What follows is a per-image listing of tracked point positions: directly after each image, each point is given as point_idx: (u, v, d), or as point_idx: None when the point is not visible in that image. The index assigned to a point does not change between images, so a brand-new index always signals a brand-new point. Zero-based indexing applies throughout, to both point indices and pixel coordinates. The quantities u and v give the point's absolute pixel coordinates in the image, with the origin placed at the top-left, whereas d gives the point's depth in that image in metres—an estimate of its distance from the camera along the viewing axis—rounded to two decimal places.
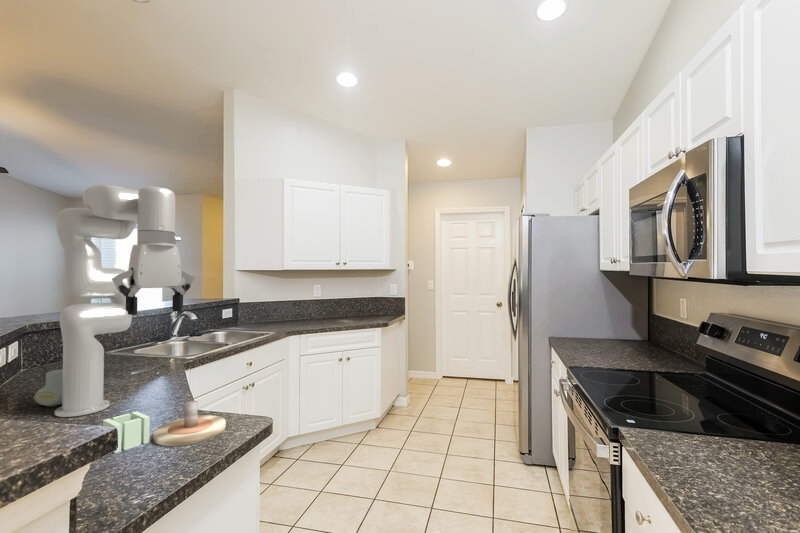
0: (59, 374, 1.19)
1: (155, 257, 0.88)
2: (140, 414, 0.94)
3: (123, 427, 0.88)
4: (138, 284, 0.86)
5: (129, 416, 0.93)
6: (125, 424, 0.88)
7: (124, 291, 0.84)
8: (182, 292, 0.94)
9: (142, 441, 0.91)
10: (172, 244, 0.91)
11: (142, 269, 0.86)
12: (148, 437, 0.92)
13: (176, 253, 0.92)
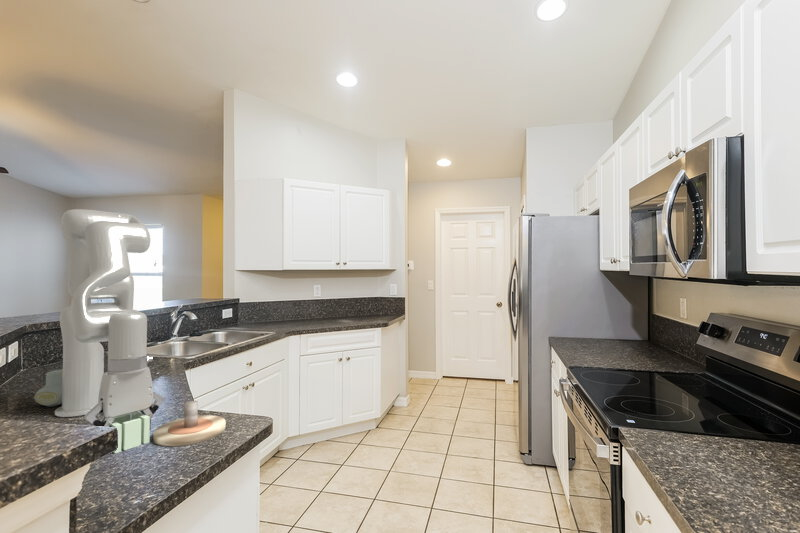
0: (59, 374, 1.19)
1: (125, 385, 0.89)
2: (140, 414, 0.93)
3: (123, 427, 0.88)
4: (107, 415, 0.86)
5: (129, 416, 0.93)
6: (125, 424, 0.88)
7: None
8: (149, 415, 0.94)
9: (142, 441, 0.91)
10: (143, 368, 0.91)
11: (112, 400, 0.87)
12: (148, 437, 0.92)
13: (147, 375, 0.93)
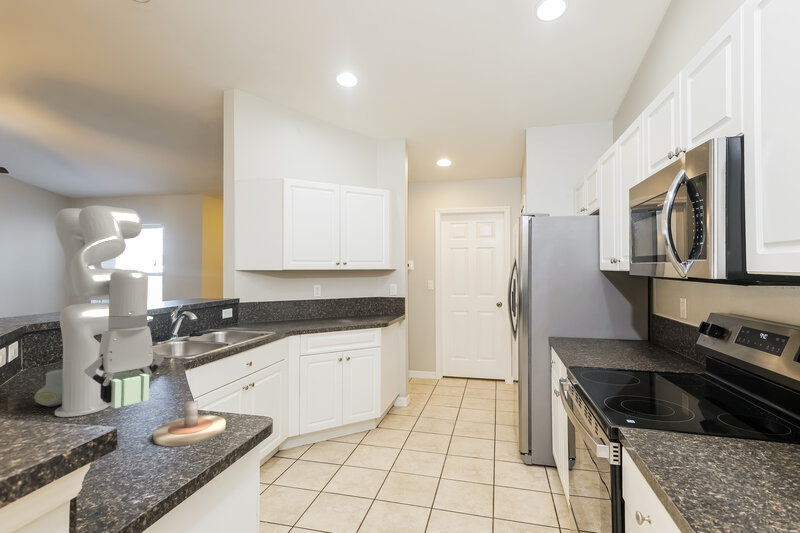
0: (59, 374, 1.19)
1: (125, 342, 0.89)
2: (140, 373, 0.94)
3: (123, 383, 0.89)
4: (107, 371, 0.87)
5: (129, 374, 0.94)
6: (125, 380, 0.88)
7: (98, 381, 0.86)
8: (149, 374, 0.95)
9: (141, 399, 0.92)
10: (143, 327, 0.92)
11: (112, 356, 0.87)
12: (147, 395, 0.92)
13: (148, 334, 0.93)
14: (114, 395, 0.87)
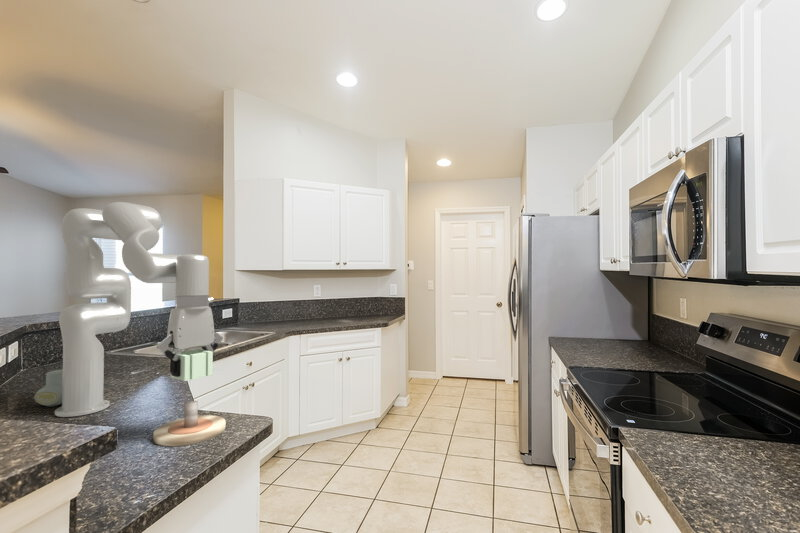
0: (59, 374, 1.19)
1: (192, 320, 0.96)
2: (203, 350, 1.00)
3: (190, 358, 0.95)
4: (177, 346, 0.93)
5: (192, 352, 1.00)
6: (192, 355, 0.95)
7: (169, 356, 0.93)
8: None
9: (206, 374, 0.98)
10: (207, 306, 0.98)
11: (181, 332, 0.94)
12: (211, 370, 0.99)
13: (210, 313, 1.00)
14: (184, 369, 0.93)
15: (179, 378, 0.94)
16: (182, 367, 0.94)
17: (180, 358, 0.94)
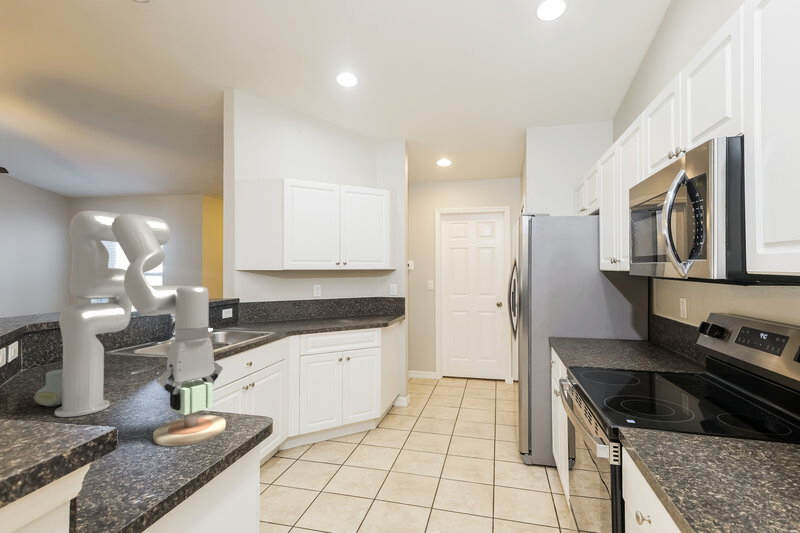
0: (59, 374, 1.19)
1: (191, 353, 0.95)
2: (203, 381, 1.00)
3: (190, 391, 0.95)
4: (177, 380, 0.93)
5: (192, 383, 1.00)
6: (192, 389, 0.94)
7: (169, 390, 0.93)
8: None
9: (206, 406, 0.98)
10: (206, 338, 0.98)
11: (181, 366, 0.94)
12: (211, 402, 0.98)
13: (209, 345, 1.00)
14: (184, 402, 0.93)
15: (179, 411, 0.94)
16: (182, 401, 0.93)
17: (180, 391, 0.94)
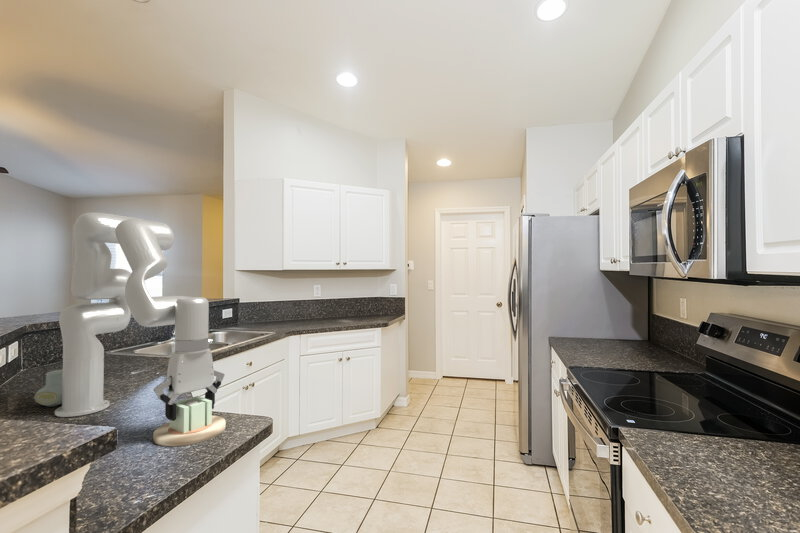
0: (59, 374, 1.19)
1: (191, 364, 0.95)
2: (202, 398, 1.00)
3: (190, 409, 0.95)
4: (177, 392, 0.93)
5: (192, 400, 1.00)
6: (192, 406, 0.94)
7: (164, 400, 0.92)
8: (214, 390, 1.01)
9: (205, 423, 0.98)
10: (206, 349, 0.98)
11: (180, 378, 0.93)
12: (210, 419, 0.98)
13: (209, 356, 1.00)
14: (183, 421, 0.93)
15: (178, 429, 0.94)
16: (181, 419, 0.93)
17: (179, 409, 0.94)
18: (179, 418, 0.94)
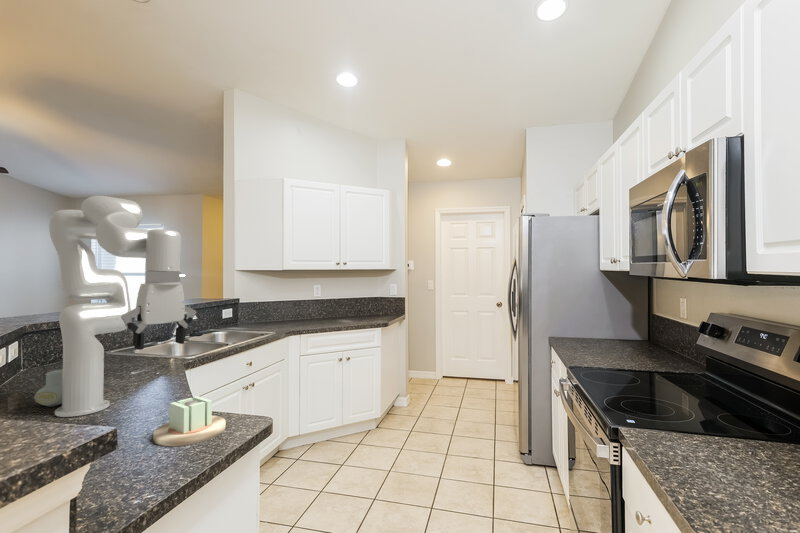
0: (59, 374, 1.19)
1: (161, 296, 0.95)
2: (202, 398, 1.00)
3: (190, 409, 0.95)
4: (145, 321, 0.93)
5: (192, 400, 1.00)
6: (192, 406, 0.94)
7: (132, 328, 0.91)
8: (185, 325, 1.01)
9: (205, 423, 0.98)
10: (177, 282, 0.98)
11: (149, 307, 0.93)
12: (210, 419, 0.98)
13: (180, 290, 0.99)
14: (183, 421, 0.93)
15: (178, 429, 0.94)
16: (181, 419, 0.93)
17: (179, 409, 0.94)
18: (179, 418, 0.94)
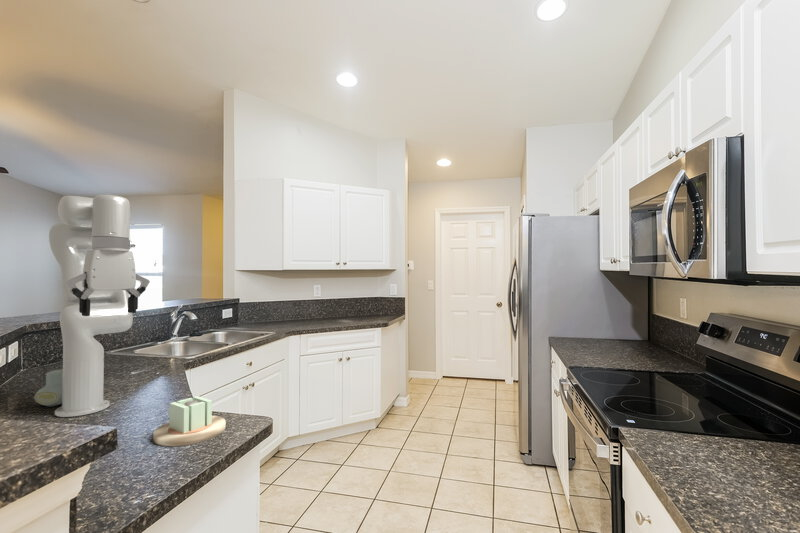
0: (59, 374, 1.19)
1: (108, 262, 0.93)
2: (202, 398, 1.00)
3: (190, 409, 0.95)
4: (91, 287, 0.91)
5: (192, 400, 1.00)
6: (192, 406, 0.94)
7: (77, 294, 0.89)
8: (137, 294, 0.99)
9: (205, 423, 0.98)
10: (126, 249, 0.96)
11: (95, 273, 0.91)
12: (210, 419, 0.98)
13: (130, 257, 0.97)
14: (183, 421, 0.93)
15: (178, 429, 0.94)
16: (181, 419, 0.93)
17: (179, 409, 0.94)
18: (179, 418, 0.94)
